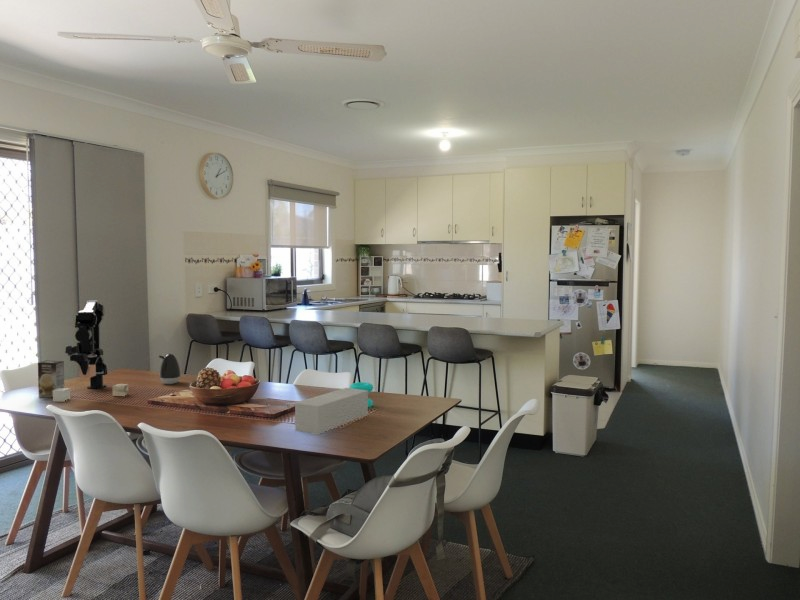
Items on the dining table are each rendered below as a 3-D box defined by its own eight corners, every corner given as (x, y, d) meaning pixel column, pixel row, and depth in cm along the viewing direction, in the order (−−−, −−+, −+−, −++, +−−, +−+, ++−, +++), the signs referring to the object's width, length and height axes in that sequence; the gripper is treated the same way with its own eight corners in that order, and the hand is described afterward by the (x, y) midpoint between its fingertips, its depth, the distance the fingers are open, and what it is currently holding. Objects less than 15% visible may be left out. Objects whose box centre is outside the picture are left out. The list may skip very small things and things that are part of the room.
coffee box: (37, 397, 288) (36, 362, 287) (46, 394, 295) (45, 360, 294) (56, 397, 288) (55, 362, 286) (65, 394, 294) (64, 360, 293)
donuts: (361, 380, 278) (377, 383, 272) (361, 403, 279) (377, 406, 272) (344, 384, 271) (361, 387, 264) (344, 407, 272) (361, 410, 265)
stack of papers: (317, 435, 229) (317, 406, 228) (295, 431, 234) (295, 402, 234) (367, 416, 256) (367, 390, 255) (346, 413, 262) (346, 387, 261)
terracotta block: (85, 375, 289) (84, 364, 288) (95, 375, 289) (95, 364, 288) (79, 377, 284) (78, 366, 283) (90, 377, 284) (90, 366, 283)
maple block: (117, 394, 295) (117, 383, 295) (128, 394, 295) (128, 384, 295) (112, 396, 290) (112, 386, 290) (123, 397, 290) (123, 386, 290)
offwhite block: (59, 399, 286) (58, 388, 285) (70, 399, 286) (69, 388, 285) (52, 401, 281) (52, 390, 280) (64, 401, 281) (63, 390, 280)
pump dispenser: (162, 381, 326) (161, 352, 325) (183, 381, 327) (182, 352, 326) (156, 385, 316) (156, 355, 315) (178, 385, 317) (177, 355, 316)
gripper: (79, 336, 295) (80, 369, 296) (57, 342, 276) (58, 377, 277) (103, 336, 294) (104, 370, 295) (82, 342, 276) (83, 377, 277)
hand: (87, 373), depth 286 cm, fingers closed on terracotta block, 5 cm apart
